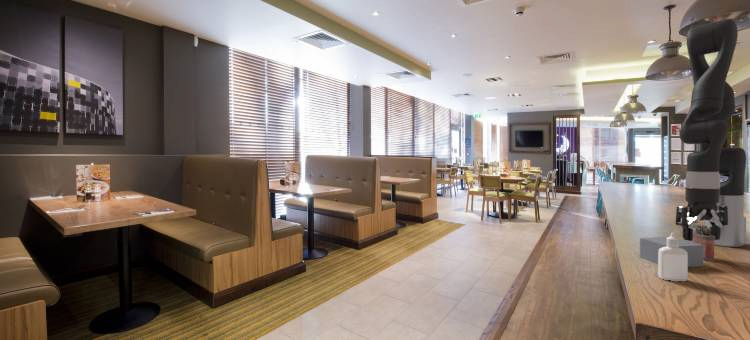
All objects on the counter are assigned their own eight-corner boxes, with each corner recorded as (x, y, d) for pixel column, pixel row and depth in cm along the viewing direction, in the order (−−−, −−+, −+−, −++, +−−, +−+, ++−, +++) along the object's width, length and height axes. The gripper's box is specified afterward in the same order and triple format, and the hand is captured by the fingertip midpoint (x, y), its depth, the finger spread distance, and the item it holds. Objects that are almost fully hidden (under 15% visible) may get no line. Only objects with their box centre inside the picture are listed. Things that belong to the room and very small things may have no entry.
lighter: (718, 262, 99) (719, 228, 98) (705, 261, 99) (705, 228, 99) (698, 254, 106) (698, 222, 106) (685, 253, 107) (686, 222, 107)
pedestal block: (670, 255, 106) (670, 236, 105) (703, 266, 96) (703, 245, 95) (640, 257, 105) (640, 238, 105) (669, 267, 95) (669, 246, 95)
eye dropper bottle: (686, 284, 83) (687, 236, 83) (657, 279, 87) (657, 233, 87) (687, 279, 86) (688, 233, 86) (659, 274, 90) (659, 230, 90)
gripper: (711, 185, 106) (710, 236, 107) (668, 186, 105) (667, 237, 106) (738, 187, 99) (737, 242, 99) (692, 188, 98) (691, 243, 98)
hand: (701, 239), depth 102 cm, fingers open, 8 cm apart
